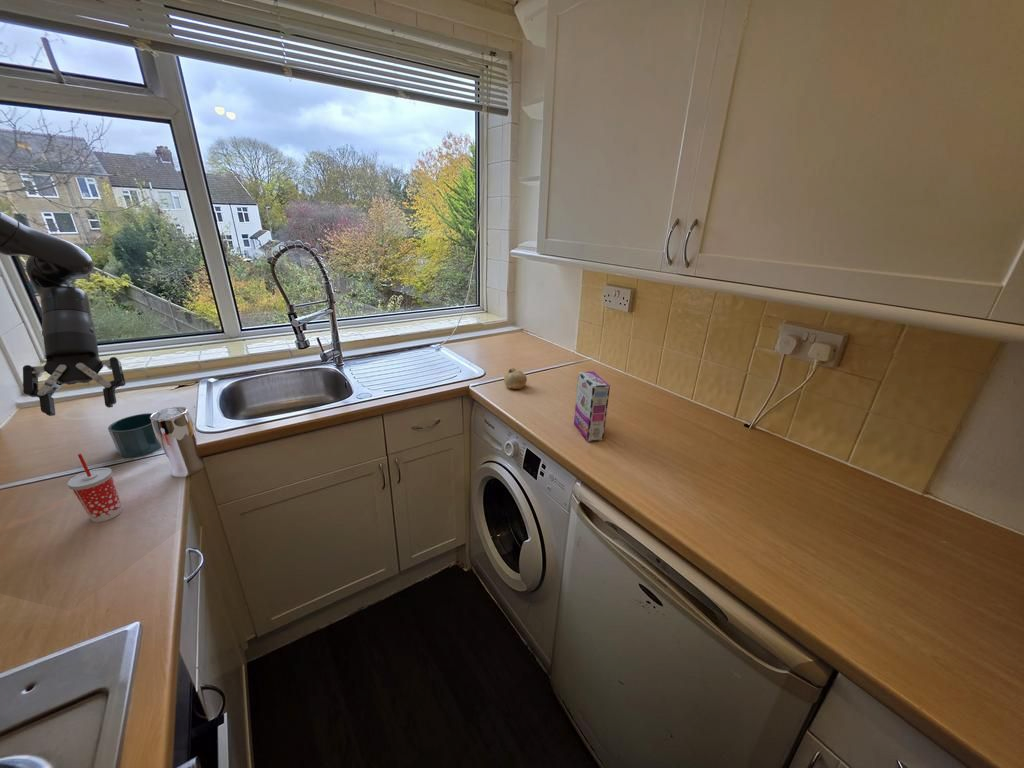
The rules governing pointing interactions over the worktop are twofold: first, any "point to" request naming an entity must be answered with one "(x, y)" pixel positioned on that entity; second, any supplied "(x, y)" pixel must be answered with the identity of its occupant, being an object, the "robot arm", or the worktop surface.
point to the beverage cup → (96, 492)
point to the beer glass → (177, 440)
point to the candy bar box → (591, 406)
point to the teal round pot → (134, 436)
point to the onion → (515, 379)
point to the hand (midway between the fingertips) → (80, 410)
